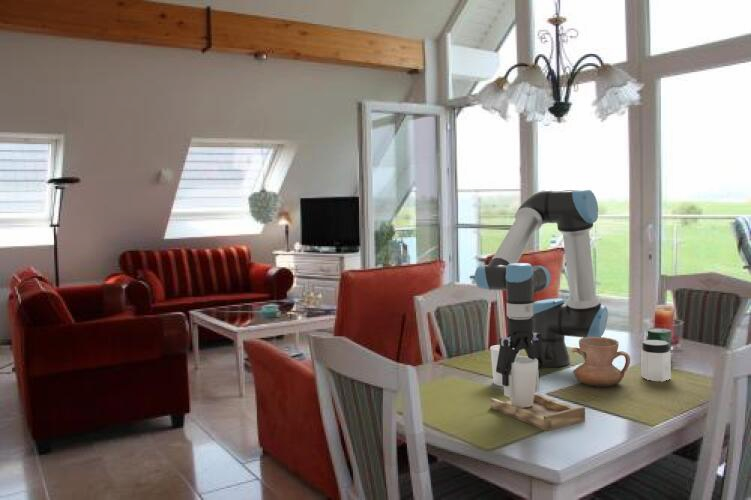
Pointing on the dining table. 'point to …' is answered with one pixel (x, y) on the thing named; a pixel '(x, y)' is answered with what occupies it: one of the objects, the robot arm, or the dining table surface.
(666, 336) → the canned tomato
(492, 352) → the candle holder
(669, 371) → the jar
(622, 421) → the dining table surface
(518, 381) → the foam cup
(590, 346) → the ceramic jug
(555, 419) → the track
